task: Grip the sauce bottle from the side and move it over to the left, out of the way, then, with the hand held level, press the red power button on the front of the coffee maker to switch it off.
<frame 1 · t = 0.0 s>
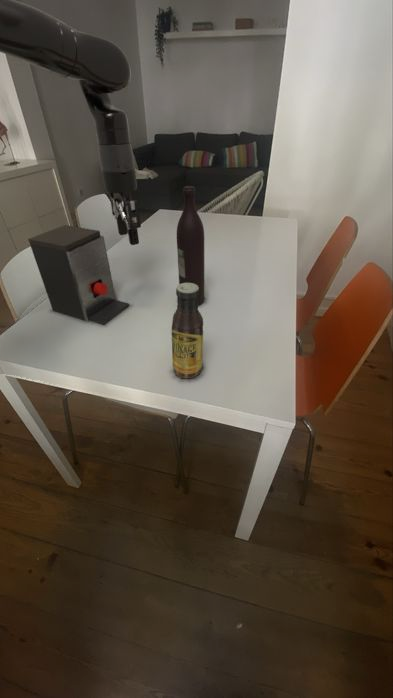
hand: (128, 239, 81), 18 cm above the table, tool pointing down, fingers open, 8 cm apart
power button: (100, 289, 84), point 7 cm above the table, slide at 0.0 cm
sauce bottle: (188, 371, 68), on the table
wine bottle: (192, 301, 92), on the table
coffee maker: (98, 309, 89), on the table
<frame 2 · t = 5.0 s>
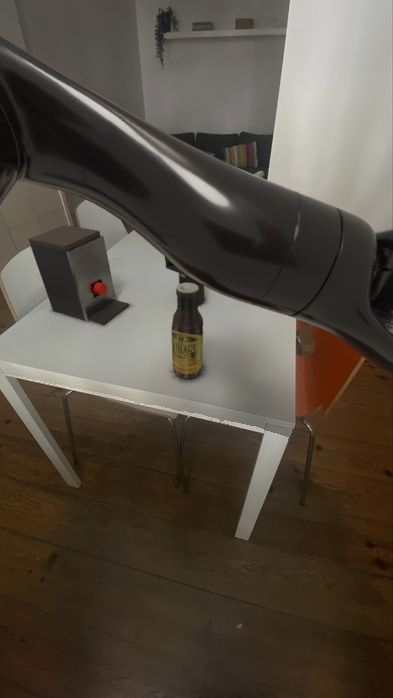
hand: (193, 242, 48), 29 cm above the table, tool horizontal, fingers open, 8 cm apart
nothing on the table moved.
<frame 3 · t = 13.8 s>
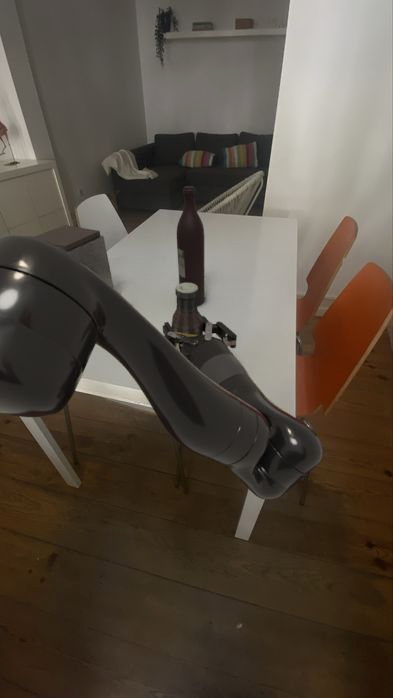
hand: (182, 322, 63), 11 cm above the table, tool horizontal, fingers closed on sauce bottle, 6 cm apart
sauce bottle: (188, 371, 68), on the table, touching gripper
everything else where it was.
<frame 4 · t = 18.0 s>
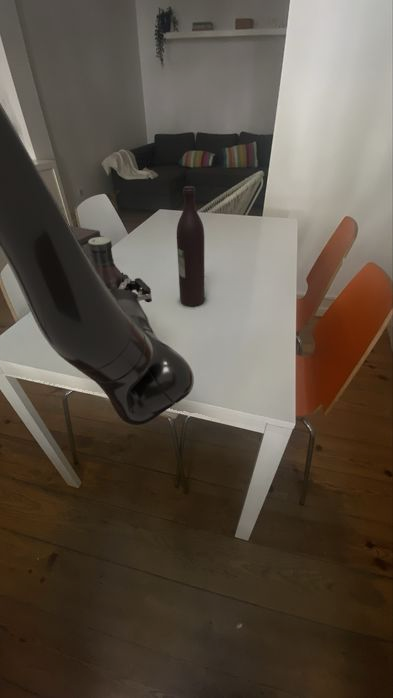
hand: (104, 280, 64), 18 cm above the table, tool horizontal, fingers closed on sauce bottle, 6 cm apart
sauce bottle: (116, 332, 69), point 6 cm above the table, touching gripper
everything else where it was.
when the fingers open (11 cm above the table, at t = 22.2 s): sauce bottle stays where it is, on the table.
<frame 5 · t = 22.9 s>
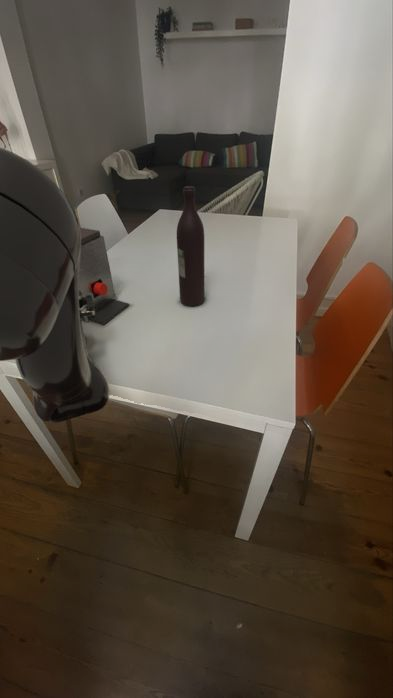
hand: (56, 297, 71), 12 cm above the table, tool horizontal, fingers open, 8 cm apart
sauce bottle: (72, 343, 77), on the table
everything else where it was.
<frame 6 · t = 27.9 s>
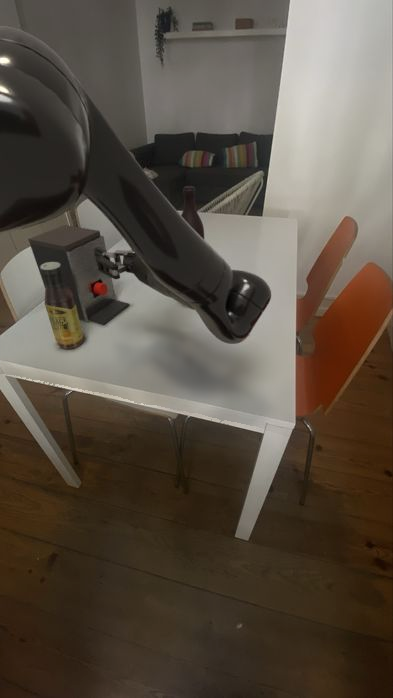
hand: (115, 245, 65), 23 cm above the table, tool horizontal, fingers open, 8 cm apart
nothing on the table moved.
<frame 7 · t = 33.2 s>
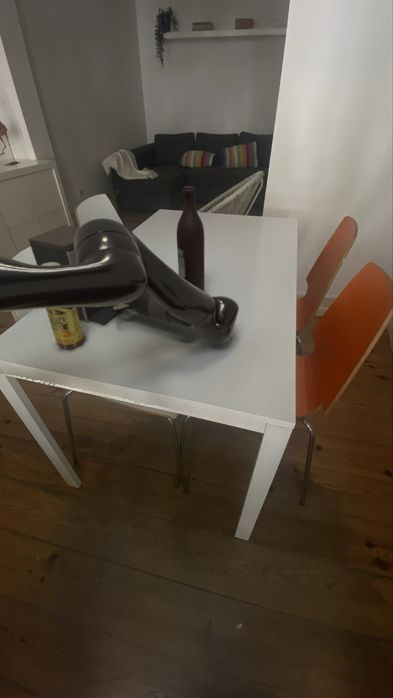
hand: (102, 290, 84), 7 cm above the table, tool horizontal, fingers closed
power button: (99, 288, 84), point 7 cm above the table, slide at -0.3 cm, touching gripper
everything else where it was.
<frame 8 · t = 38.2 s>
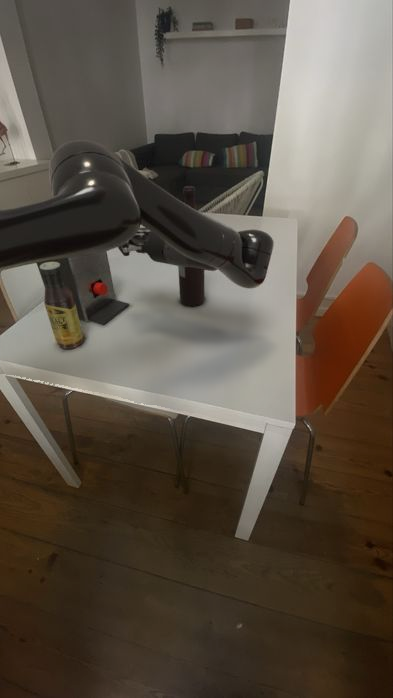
hand: (109, 235, 72), 22 cm above the table, tool horizontal, fingers closed
power button: (100, 289, 84), point 7 cm above the table, slide at 0.0 cm
everything else where it was.
at the end: power button pushed in 0.6 cm at the most during the clip, back to where it started at the end; sauce bottle inside the target area (0.1 cm from its centre), on the table; sauce bottle tilted 1° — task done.
